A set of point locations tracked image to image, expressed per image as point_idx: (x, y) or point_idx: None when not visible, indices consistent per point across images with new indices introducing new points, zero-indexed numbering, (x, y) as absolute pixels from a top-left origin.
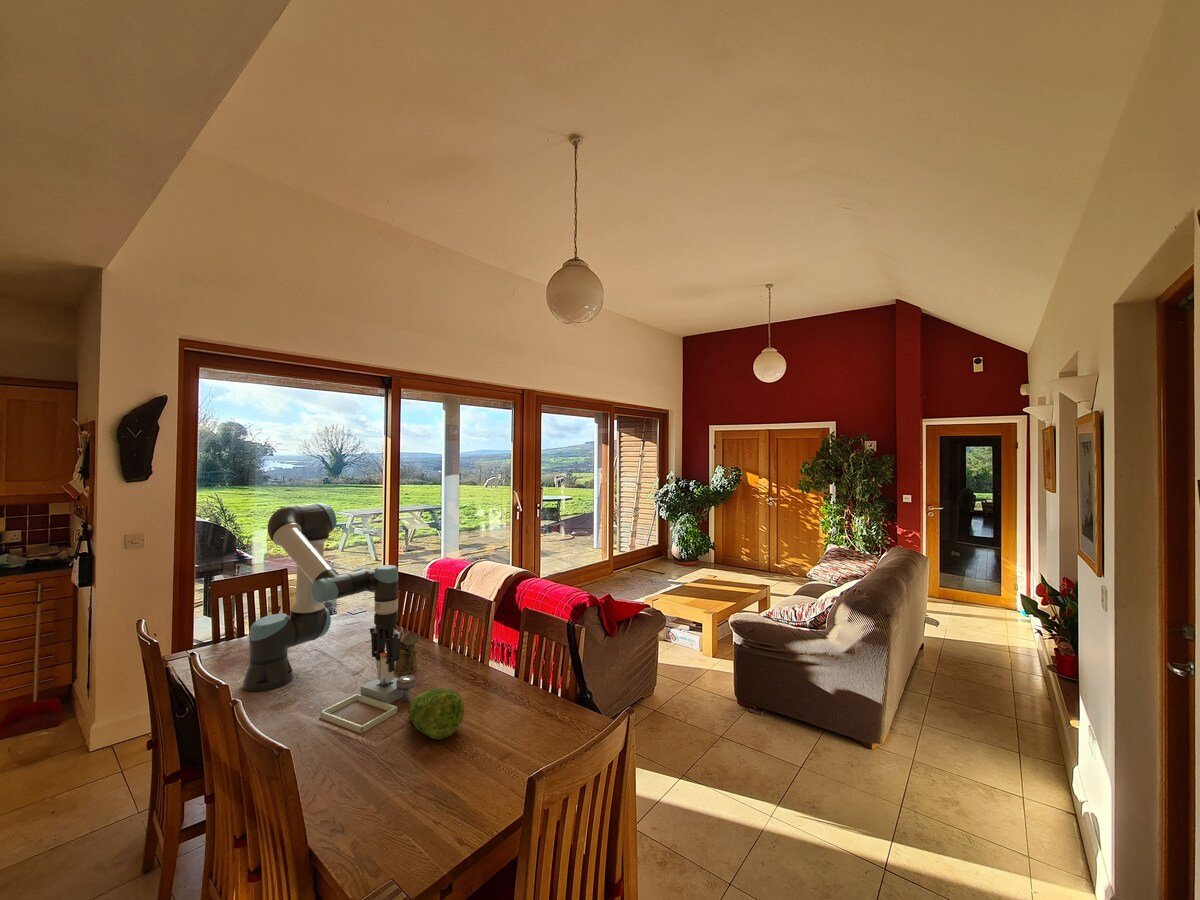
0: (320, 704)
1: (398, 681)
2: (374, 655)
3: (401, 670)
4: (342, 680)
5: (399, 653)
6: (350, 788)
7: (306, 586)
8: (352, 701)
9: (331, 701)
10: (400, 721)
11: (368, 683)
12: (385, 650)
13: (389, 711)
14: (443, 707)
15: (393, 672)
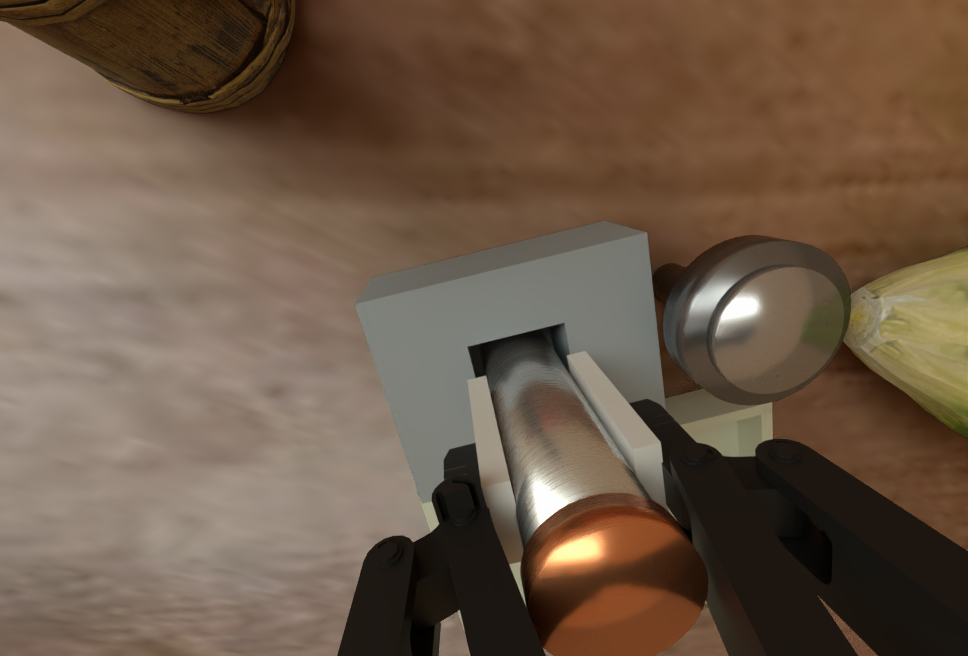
0: (302, 584)
1: (727, 383)
2: (438, 622)
3: (230, 70)
4: (24, 417)
5: (885, 504)
6: None
7: None
8: None
9: (307, 542)
10: (798, 393)
11: (417, 454)
12: (558, 586)
13: None
14: None
15: (604, 375)
